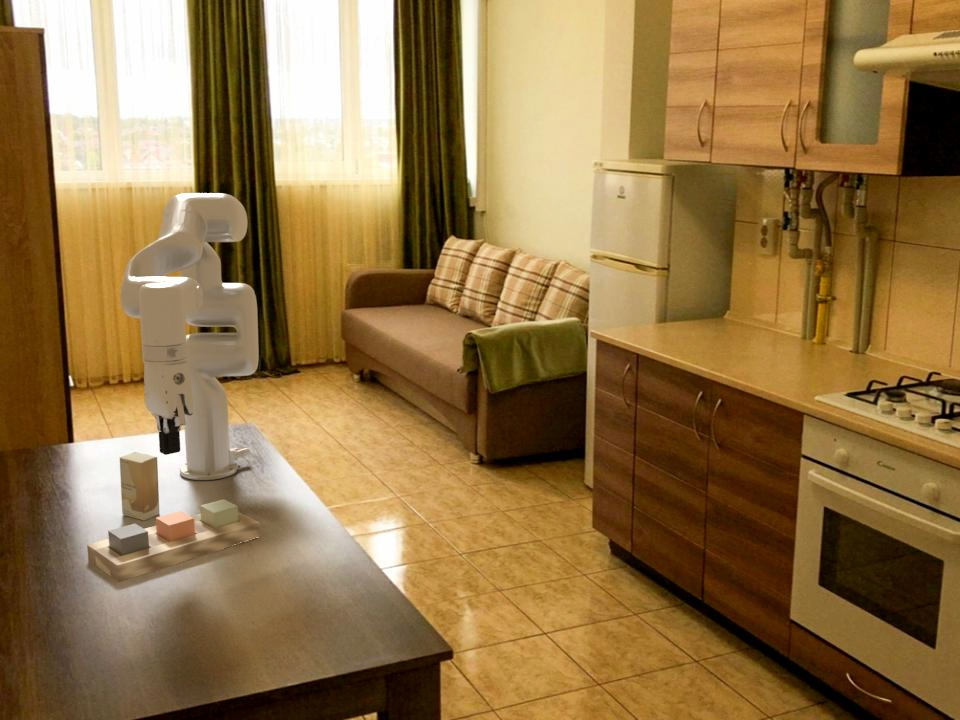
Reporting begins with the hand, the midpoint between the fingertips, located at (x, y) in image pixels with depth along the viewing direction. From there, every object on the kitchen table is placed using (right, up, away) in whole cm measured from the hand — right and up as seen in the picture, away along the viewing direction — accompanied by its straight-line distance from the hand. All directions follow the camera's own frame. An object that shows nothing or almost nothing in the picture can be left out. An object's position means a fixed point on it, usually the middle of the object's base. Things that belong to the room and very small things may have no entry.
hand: (170, 452), depth 184 cm
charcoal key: (-6, -17, -3) cm, 19 cm away
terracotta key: (0, -16, +3) cm, 16 cm away
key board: (0, -18, +4) cm, 18 cm away
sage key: (+7, -15, +9) cm, 18 cm away
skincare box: (-12, -14, +20) cm, 27 cm away
